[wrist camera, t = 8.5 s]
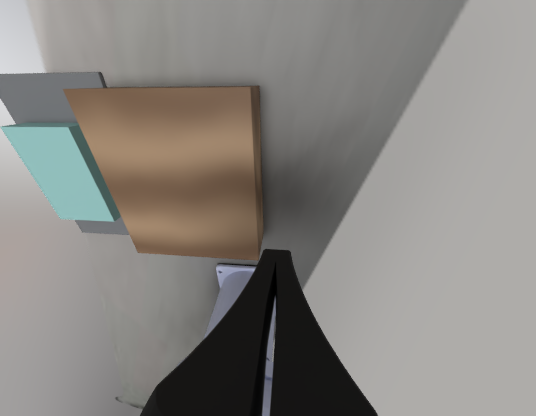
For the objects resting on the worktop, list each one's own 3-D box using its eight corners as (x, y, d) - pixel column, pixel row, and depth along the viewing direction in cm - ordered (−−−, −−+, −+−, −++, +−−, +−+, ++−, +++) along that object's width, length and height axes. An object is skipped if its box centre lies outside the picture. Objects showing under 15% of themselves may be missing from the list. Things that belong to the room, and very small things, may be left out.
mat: (160, 234, 24) (158, 236, 24) (84, 230, 25) (82, 232, 25) (100, 72, 16) (97, 72, 16) (-10, 74, 17) (-15, 74, 16)
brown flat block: (263, 233, 23) (258, 260, 19) (159, 228, 24) (138, 252, 20) (259, 85, 15) (250, 87, 12) (109, 87, 16) (62, 88, 13)
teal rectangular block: (60, 219, 21) (77, 208, 23) (114, 221, 21) (127, 211, 22) (0, 126, 17) (27, 122, 18) (68, 127, 16) (89, 122, 18)
